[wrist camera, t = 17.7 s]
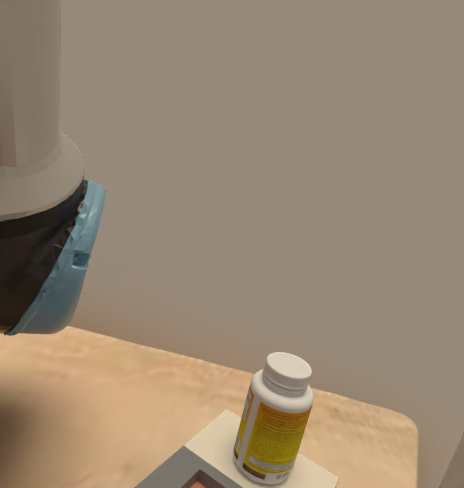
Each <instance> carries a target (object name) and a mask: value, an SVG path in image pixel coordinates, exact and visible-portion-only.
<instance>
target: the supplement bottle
mask: <svg viewBox="0 0 464 488" xmlns="http://www.w3.org/2000/svg"><path fill="white" fill-rule="evenodd" d="M311 374H312V370H311V368H310V366H309V365H308V363H307V362H305V361H304V360H303V359H301V358H299V357H297V356H295V355H292V354H289V353H284V352H275V353H272V354H270V355H268V357H267V359H266V363H265V366H264V368H263V369H262V370H260V371H258V372H257V373H255V374H254V376H253V377H252V380H251V383H250V387H249V391H248V395H247V398H246V402H245V406H244V410H243V414H242V418H241V421H240V425H239V429H238V433H237V437H236V441H235V445H234V459H235V462H236V464H237V466H238V467H239V469H240V470H241V471H242V472H243V473H244V474H245V475H246V476H248V477H249V478H251V479H252V480H254V481H257V482H259V483H263V484H277V483H281V482H283V481H284V480H286V479H287V478H288V477H289V476H290V474H291V472H292V470H293V467H294V463H295V460H296V457H297V454H298V450H299V447H300V444H301V440H302V437H303V434H304V431H305V427H306V424H307V421H308V418H309V414H310V411H311V408H312V404H313V400H314V396H313V392H312V390H311V388H310V386H309V383H310V377H311Z"/></svg>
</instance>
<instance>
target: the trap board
mask: <svg viewBox="0 0 464 488" xmlns="http://www.w3.org/2000/svg"><path fill="white" fill-rule="evenodd" d="M240 421H241V418H240V417H239V416H237V415H236V414H234V413H232V412H231V411H229V410H227V409H226V410H225V411H224V412H222V413H221V414H220V415H219V416H218V417H217V418H215V419H214V420H213V421H212V422H211V423H210V424H208V425H207V426H206V427H205V428H204V429H203V430H201V431H200V432H199V433H198V434H197V435H196V436H194V437H193V438H192V439H191V440H190V441H189V442H187V443H186V444H185V445H184V446H183V447H181V448H180V449H179V450H178V451H177V452H176V453H174V454H173V455H172V456H171V457H170V458H169V459H167V460H166V461H165V462H164V463H163V464H162V465H160V466H159V467H158V468H157V469H156V470H155V471H153V472H152V473H151V474H150V475H149V476H148V477H146V478H145V479H144V480H143V481H142V482H141V483H139V484H138V485H137V486H136V487H135V488H336V486H337V483H338V481H339V477H337V476H336V475H334V474H332V473H331V472H329V471H327V470H326V469H324V468H322V467H321V466H319V465H317V464H316V463H314V462H313V461H311V460H309V459H308V458H306V457H304V456H303V455H301V454H299V453H298V454H297V457H296V460H295V463H294V467H293V470H292V472H291V474H290V476H289V477H288V478H287V479H286V480H284V481H283V482H281V483H277V484H263V483H259V482H257V481H254V480H252V479H251V478H249V477H248V476H246V475H245V474H244V473H243V472H242V471H241V470H240V469H239V467H238V466H237V464H236V462H235V459H234V445H235V441H236V437H237V433H238V429H239V425H240Z"/></svg>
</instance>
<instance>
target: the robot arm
mask: <svg viewBox="0 0 464 488" xmlns="http://www.w3.org/2000/svg"><path fill="white" fill-rule="evenodd" d="M60 42H61V0H0V333H3V334H4V335H9V336H12V335H16V334H18V333H26V334H53V333H57V332H59V331H61V330H63V329H64V328H65V327H66V326H68V324H69V323H70V322H71V320H72V319H73V316H74V313H75V310H76V307H77V304H78V301H79V297H80V294H81V290H82V286H83V283H84V279H85V275H86V271H87V267H88V262H89V259H90V256H91V252H92V248H93V245H94V242H95V238H96V234H97V231H98V227H99V222H100V218H101V214H102V210H103V206H104V201H105V196H106V191H105V189H104V187H102V186H101V185H98V184H95V183H94V182H93V181H92V180H83V178H84V163H83V157H82V154H81V152H80V150H79V149H78V148H77V146H76V145H75V144H74V143H73V142H72V141H71V140H70V139H69V138H68V137H67V136H66V135H65V134H63V133H62V132H61V131H60V130H59V111H60V110H59V109H60V108H59V107H60V48H61V43H60ZM439 488H464V434H463V436H462V438H461V440H460V442H459V444H458V447H457V449H456V451H455V453H454V455H453V458H452V460H451V462H450V464H449V466H448V469H447V471H446V473H445V475H444V478H443V480H442V482H441V484H440V486H439Z"/></svg>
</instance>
